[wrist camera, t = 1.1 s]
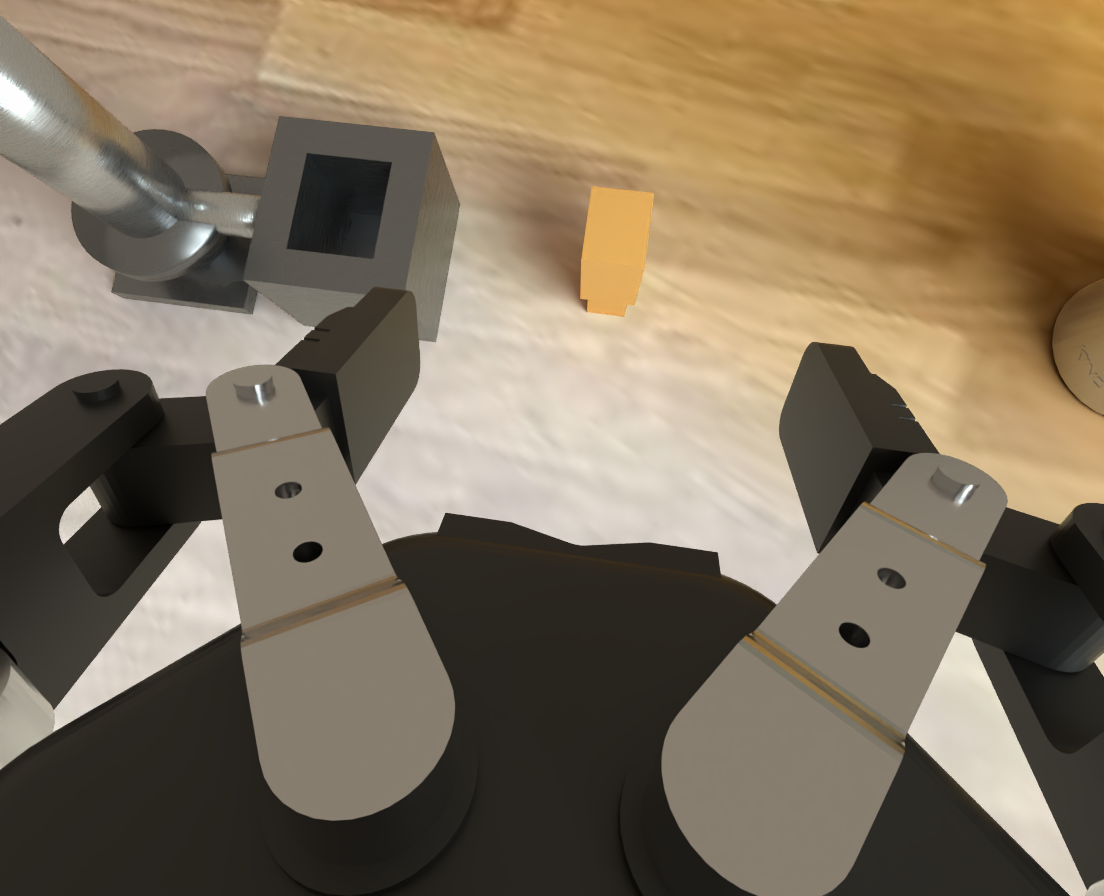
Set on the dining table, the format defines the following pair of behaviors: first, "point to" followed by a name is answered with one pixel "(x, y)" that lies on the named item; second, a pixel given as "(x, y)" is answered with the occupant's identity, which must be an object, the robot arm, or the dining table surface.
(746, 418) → the dining table surface
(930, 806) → the robot arm
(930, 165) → the dining table surface
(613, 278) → the orange block
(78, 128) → the bracket post
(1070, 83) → the dining table surface
